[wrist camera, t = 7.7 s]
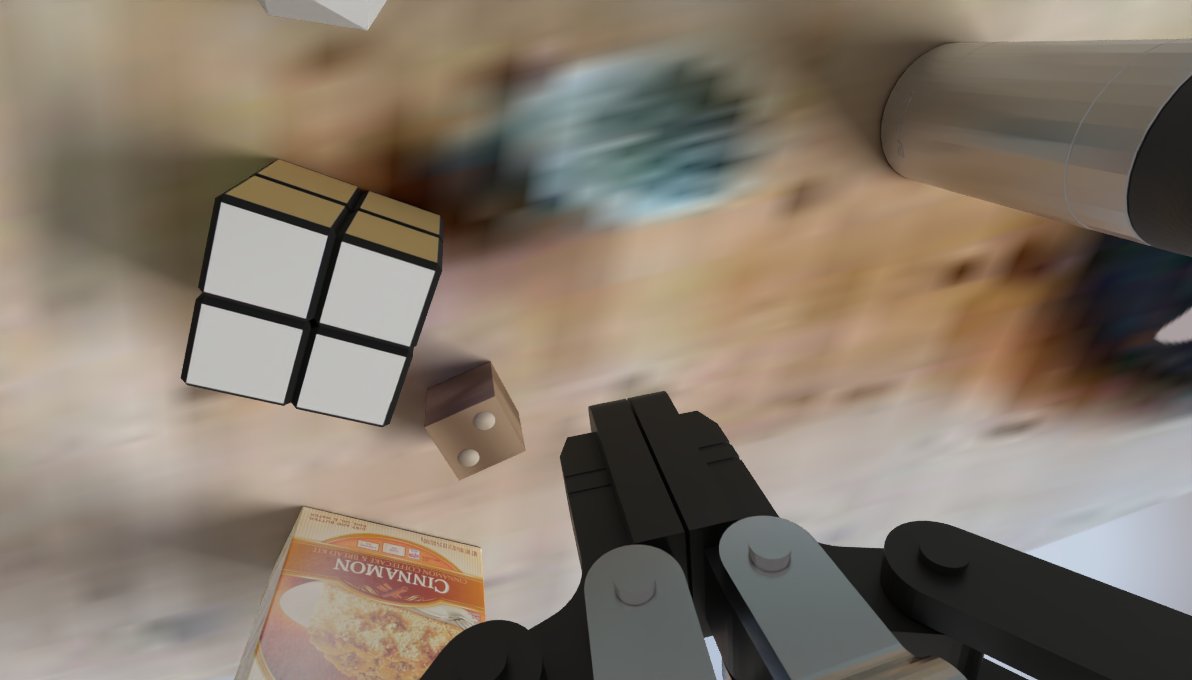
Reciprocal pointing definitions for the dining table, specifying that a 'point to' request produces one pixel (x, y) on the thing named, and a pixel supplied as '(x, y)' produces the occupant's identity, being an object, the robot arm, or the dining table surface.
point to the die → (327, 11)
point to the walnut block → (473, 421)
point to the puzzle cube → (312, 294)
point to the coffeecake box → (361, 602)
